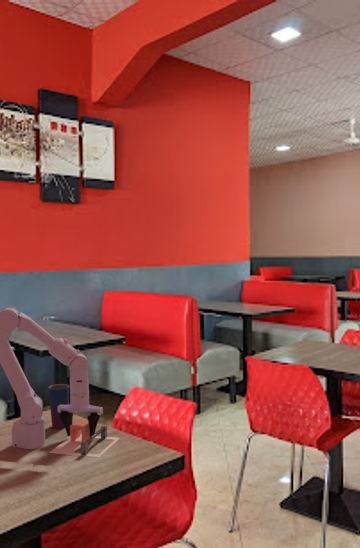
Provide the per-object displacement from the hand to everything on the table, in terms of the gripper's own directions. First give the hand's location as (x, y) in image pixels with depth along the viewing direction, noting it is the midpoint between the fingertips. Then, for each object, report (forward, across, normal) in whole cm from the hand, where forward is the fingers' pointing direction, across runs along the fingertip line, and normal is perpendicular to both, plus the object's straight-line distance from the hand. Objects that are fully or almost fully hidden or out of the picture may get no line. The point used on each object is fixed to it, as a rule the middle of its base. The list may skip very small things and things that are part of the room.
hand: (80, 435), depth 166 cm
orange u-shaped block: (+1, 0, 0) cm, 1 cm away
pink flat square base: (+3, +4, -4) cm, 6 cm away
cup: (+3, -12, +10) cm, 16 cm away
